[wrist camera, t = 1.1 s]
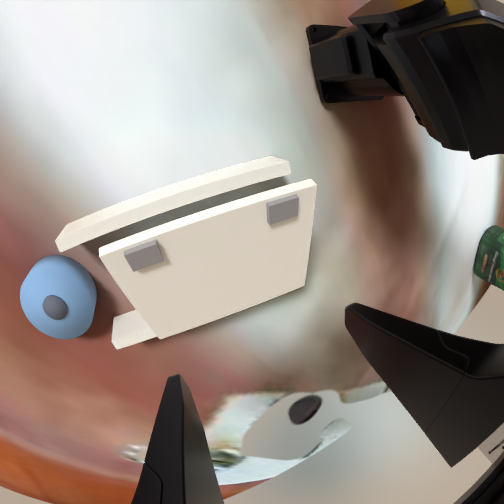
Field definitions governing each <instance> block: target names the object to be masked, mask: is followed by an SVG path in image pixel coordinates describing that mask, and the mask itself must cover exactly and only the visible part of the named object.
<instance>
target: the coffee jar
mask: <svg viewBox="0 0 504 504" xmlns="http://www.w3.org/2000/svg"><path fill="white" fill-rule="evenodd" d="M474 272H475V274H476V275H477V276H478V277H480V278H481V279H483V280H485V281H487V282H488V283H490V284H492V285H494V286H497V287H498V288H500V289H502V290H504V230H503V229H502V228H500V227H498V226H496V225H495V226H491V227H489V228H488V229H487V230H486V233H485V234H484V236H483V237H482V239H481V242H480V246H479V249H478V253H477V257H476V262H475V267H474Z"/></svg>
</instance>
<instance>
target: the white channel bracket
mask: <svg viewBox="0 0 504 504" xmlns="http://www.w3.org/2000/svg"><path fill="white" fill-rule="evenodd" d="M288 174H291V171H290V164H289V161H286V160H282V159H279V158H276V157H272V156H268V157H263V158H259V159H256V160H252V161H248V162H244V163H240V164H237V165H233V166H229V167H226V168H222V169H219V170H215V171H212V172H208V173H205V174H202V175H199V176H195V177H192V178H189V179H186V180H183V181H179V182H176V183H173V184H170V185H167V186H164V187H161V188H158V189H156V190H153V191H150V192H147V193H144V194H141V195H139V196H136V197H133V198H130V199H128V200H125V201H122V202H120V203H117V204H115V205H112V206H110V207H107V208H105V209H102V210H100V211H97V212H95V213H92V214H90V215H87V216H85V217H83V218H80V219H78V220H76V221H73V222H71V223H69V224H67V225H66V226H65V228H64V229H63V230H62V232H61V233H60V234H59V236H58V237H57V239H56V240H55V242H56V244H57V247H58V249H59V251H60V252H62V251H65V250H67V249H69V248H72V247H74V246H77V245H79V244H81V243H84V242H86V241H89V240H91V239H94V238H96V237H99V236H101V235H104V234H106V233H109V232H111V231H114V230H117V229H119V228H122V227H125V226H127V225H130V224H133V223H135V222H138V221H141V220H144V219H146V218H149V217H152V216H155V215H158V214H160V213H163V212H166V211H169V210H172V209H175V208H178V207H181V206H184V205H187V204H190V203H193V202H196V201H199V200H202V199H205V198H209V197H212V196H215V195H218V194H221V193H225V192H228V191H231V190H235V189H238V188H241V187H245V186H248V185H252V184H255V183H259V182H262V181H266V180H269V179H273V178H277V177H280V176H284V175H288ZM305 282H306V281H305ZM154 337H157V335H156V334H155V333H154V332H153V331H152V329H151V328H150V327H149V326H148V324H147V323H146V322H145V320H144V319H143V318H142V317H141V315H140V314H139V313H138V311H137V310H134V311H131V312H128V313H125V314H122V315H119V316H116V317H114V320H113V332H112V343H113V345H114V346H115V348H116V349H120V348H123V347H127V346H130V345H133V344H136V343H139V342H142V341H145V340H148V339H151V338H154Z"/></svg>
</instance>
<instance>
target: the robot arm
mask: <svg viewBox="0 0 504 504" xmlns="http://www.w3.org/2000/svg"><path fill="white" fill-rule="evenodd" d="M348 19H349V20H350V21H351V22H352V24H353V25H354V26H351V27H341V26H330V25H310V26H308V27H307V28H306V32H307V36H308V41H309V45H310V48H309V50H310V54H311V59H312V63H313V68H314V73H315V77H316V78H317V84H318V89H319V95H320V99H321V101H322V102H324V103H336V102H347V101H362V100H381V99H383V98H384V96H405V97H406V99H407V101H408V102H409V104H410V106H411V108H412V110H413V112H414V113H415V115H416V116H415V118H416V120H417V122H418V123H419V124H420V125H422V126H423V127H425V128H426V130H427V132H428V133H429V135H430V136H431V137H433V138H434V139H435V140H437V141H438V142H440V143H441V144H442V147H444V148H447V149H451V150H455V151H469V153H470V156H471V159H473V160H476V159H479V158H481V157H484V156H487V155H494V154H504V4H503V3H501V2H499V1H496V0H371V1H369V2H368V3H366V4H365V5H364V6H362V7H361V8H360V9H358V10H357V11H356V12H355V13H353V14H352V15H351V16H349V17H348ZM312 29H314V31H315V33H314V32H312ZM326 94H327V95H328V99H326ZM345 326H346V328H347V330H348V331H349V333H350V335H351V336H352V338H353V339H354V341H355V342H356V344H357V346H358V347H359V349H360V350H361V352H362V354H363V355H364V357H365V358H366V359H367V361H368V362H369V363H370V365H371V366H372V367H373V368H374V370H375V371H376V372H377V373H378V374H379V376H380V377H381V378H382V379H383V381H384V382H385V383H386V384H387V386H388V387H389V388H390V389H391V391H392V392H393V393H394V394H395V396H396V397H397V398H398V400H399V401H400V402H401V403H402V405H403V406H404V407H405V408H406V410H407V411H408V412H409V413H410V414H411V416H412V417H413V419H414V420H415V421H416V423H418V425H419V426H420V427H421V429H422V430H423V432H425V434H426V436H427V437H428V438H429V440H430V441H431V442H432V443H433V445H434V446H435V447H436V449H437V450H438V451H439V452H440V454H441V455H442V456H443V458H444V459H445V460H446V461H447V463H448V464H449V466H451V467H453V466H454V465H456V464H457V463H458V462H460V461H461V460H462V459H463V458H465V457H466V456H467V455H468V454H470V453H471V452H472V451H473V450H474V449H476V448H477V447H478V448H479V449H480V450H481V451H482V453H483V454H484V455H485V456H486V457H487V458H488V459H489V460H490V461H491V463H492V465H491V467H490V468H489V469H488V470H487V471H486V472H485V473H484V474H483V475H482V476H481V477H480V479H479V480H478V481H477V482H476V483H475V484H474V485H473V486H472V487H471V488H470V489H469V490H468V491H467V492H465V493H464V494H463V495H462V496H461V497H460V498H459V499H458V500H457V501H456V502H455V503H454V504H504V344H493V343H489V342H483V341H478V340H474V339H469V338H465V337H461V336H457V335H453V334H450V333H447V332H443V331H440V330H437V329H434V328H431V327H428V326H425V325H422V324H419V323H416V322H413V321H410V320H407V319H404V318H401V317H398V316H395V315H392V314H389V313H386V312H383V311H380V310H377V309H374V308H371V307H368V306H365V305H362V304H359V303H352V304H350V305H348V306H347V307H346V308H345ZM144 462H145V463H144V464H143V468H142V472H141V476H140V479H139V483H138V486H137V489H136V492H135V494H134V497H133V500H132V502H131V504H224V501H223V498H222V495H221V492H220V488H219V485H218V481H217V478H216V474H215V471H214V467H213V463H212V459H211V456H210V452H209V448H208V444H207V440H206V436H205V432H204V428H203V425H202V422H201V420H200V417H199V414H198V411H197V409H196V406H195V403H194V400H193V397H192V394H191V391H190V389H189V387H188V385H187V384H186V382H185V381H184V379H183V378H182V376H181V375H180V374H176V375H173V376H170V377H168V379H167V383H166V386H165V389H164V393H163V396H162V399H161V403H160V406H159V410H158V413H157V417H156V420H155V424H154V427H153V431H152V435H151V438H150V442H149V446H148V449H147V453H146V457H145V461H144Z"/></svg>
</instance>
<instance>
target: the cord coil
mask: <svg viewBox="0 0 504 504" xmlns="http://www.w3.org/2000/svg"><path fill="white" fill-rule="evenodd" d="M20 301H21V305H22V308H23V311H24V313H25V315H26V316H27V318H28V319H29V321H30V322H31V323H32V324H33V325H34V326H35V327H36V328H37V329H38V330H40V331H41V332H43V333H45V334H46V335H49V336H51V337H54V338H58V339H72V338H76V337H79V336H81V335H82V334H84V333H85V332H86V331H87V330H88V329H89V327H90V326H91V323H92V320H93V315H94V310H95V305H96V301H97V290H96V286H95V283H94V281H93V278H92V277H91V275H90V274H89V272H88V271H87V270H86V269H85V268H84V267H83V266H82V265H81V264H80V263H78V262H77V261H75V260H73V259H71V258H69V257H66V256H62V255H50V256H46V257H44V258H42V259H40V260H39V261H38V262H37V263H36V264H35V265H34V266H33V268H32V269H31V271H30V273H29V274H28V276H27V277H26V279H25V280H24V282H23V284H22V287H21V291H20Z"/></svg>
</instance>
